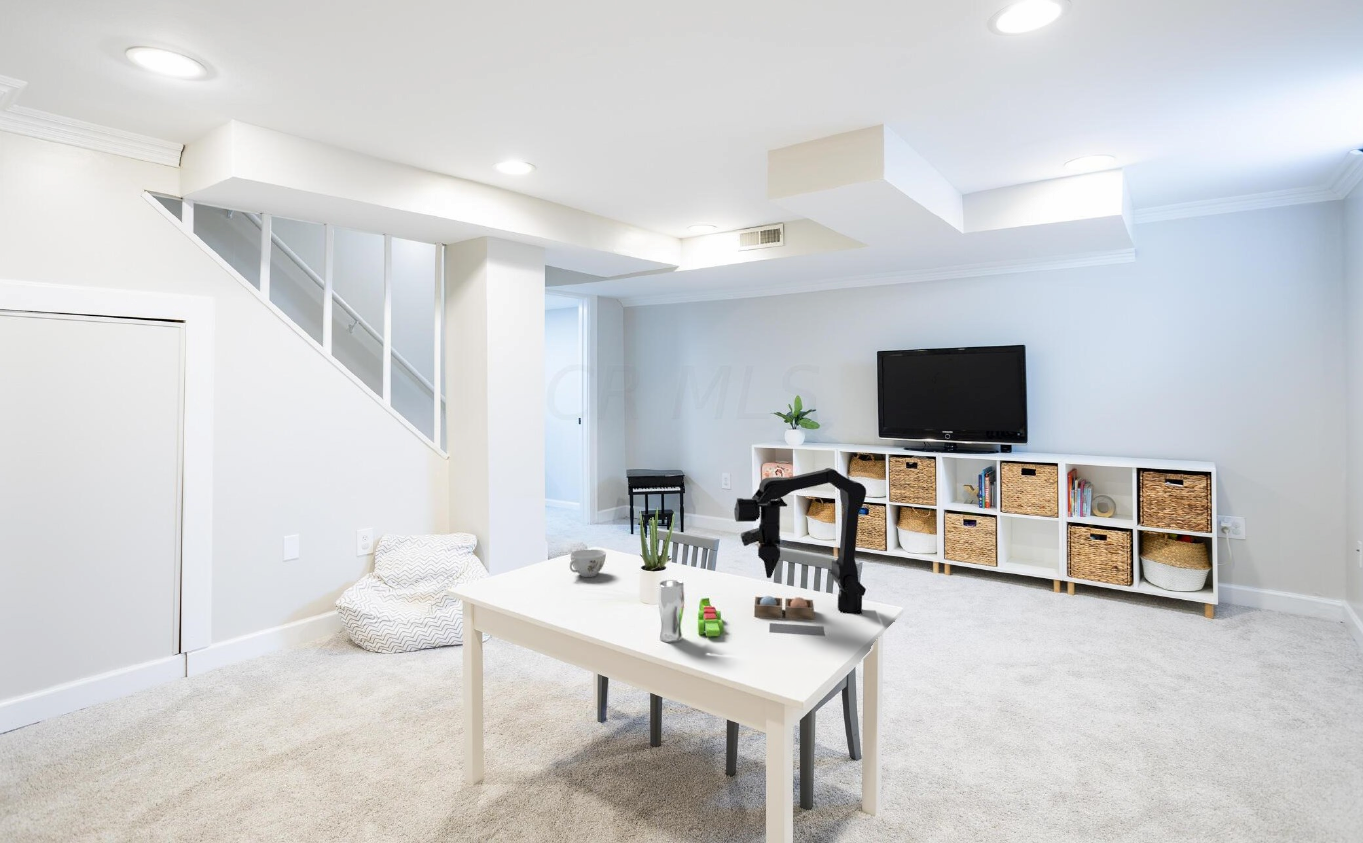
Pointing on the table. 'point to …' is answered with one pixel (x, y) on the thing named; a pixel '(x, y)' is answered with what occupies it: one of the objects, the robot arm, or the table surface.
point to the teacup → (587, 562)
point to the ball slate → (768, 601)
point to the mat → (797, 629)
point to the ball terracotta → (799, 602)
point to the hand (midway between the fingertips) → (769, 573)
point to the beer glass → (671, 610)
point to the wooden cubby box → (799, 610)
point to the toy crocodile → (709, 619)
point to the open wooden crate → (768, 609)
